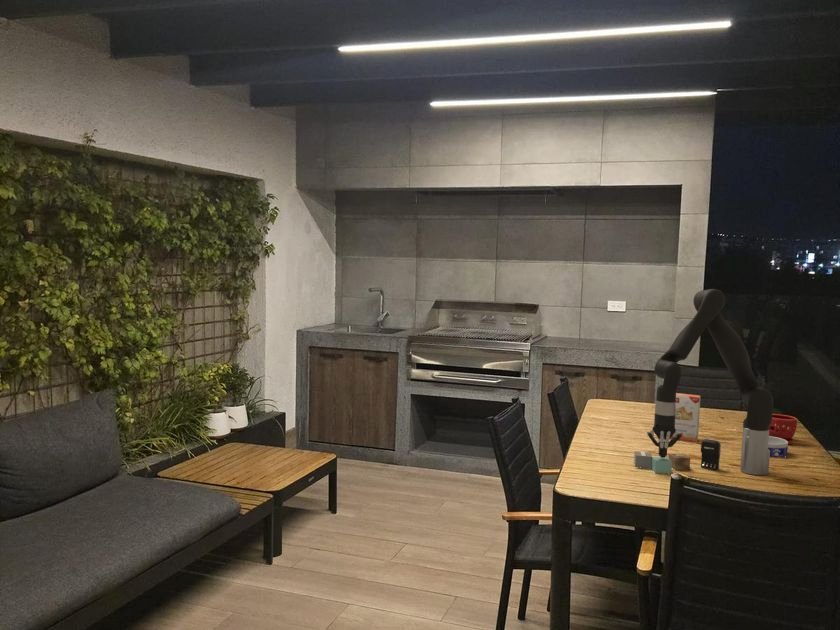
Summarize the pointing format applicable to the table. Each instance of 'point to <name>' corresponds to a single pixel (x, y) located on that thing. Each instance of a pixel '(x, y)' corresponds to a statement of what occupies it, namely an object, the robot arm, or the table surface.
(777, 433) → the plant pot
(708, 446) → the battery
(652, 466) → the plain block
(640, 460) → the stripe block
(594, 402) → the table surface
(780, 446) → the dog bowl
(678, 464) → the dot block
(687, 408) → the cracker box
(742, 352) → the robot arm
